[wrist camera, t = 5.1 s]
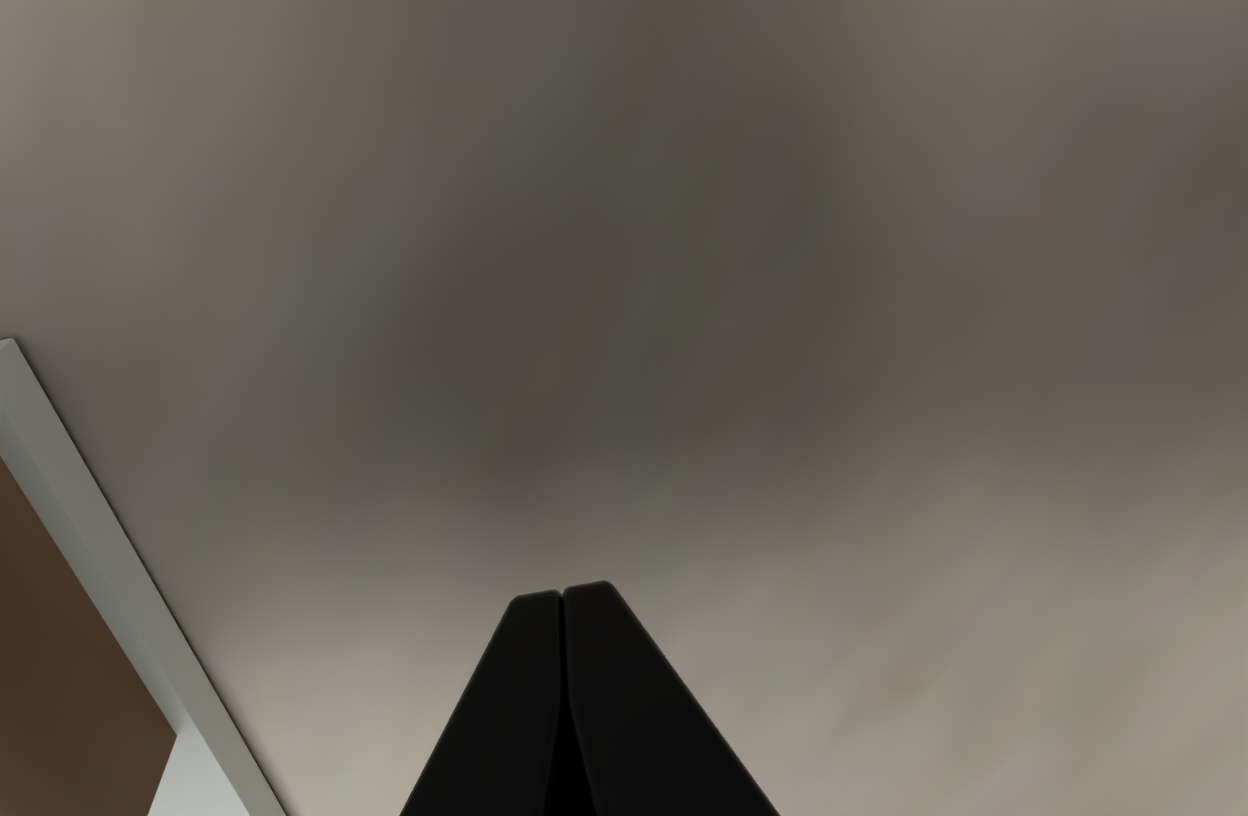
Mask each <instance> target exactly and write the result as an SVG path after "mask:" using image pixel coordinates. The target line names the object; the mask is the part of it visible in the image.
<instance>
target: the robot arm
mask: <svg viewBox="0 0 1248 816" xmlns="http://www.w3.org/2000/svg"><path fill="white" fill-rule="evenodd" d="M399 816H780V814H779V813H778V812H777V810H776V809H775V808H774V806H773V805H772V803H771V802H770V801H769V799H768V798H767V797H766V795H765V794H764V792H763V791H762V790H761V788H760V787H759V785H758V784H757V783H756V781H755V780H754V779H753V777H752V776H751V774H750V773H749V772H748V770H747V769H746V767H745V766H744V765H743V763H742V762H741V761H740V759H739V758H738V756H737V755H736V754H735V752H734V751H733V749H732V748H731V747H730V745H729V744H728V743H727V741H726V740H725V738H724V737H723V736H722V734H721V733H720V732H719V730H718V729H717V727H716V726H715V725H714V723H713V722H712V720H711V719H710V718H709V716H708V715H707V714H706V712H705V711H704V709H703V708H702V707H701V705H700V704H699V702H698V701H697V700H696V698H695V697H694V696H693V694H692V693H691V691H690V690H689V689H688V687H687V686H686V685H685V683H684V682H683V680H682V679H681V678H680V676H679V675H678V673H677V672H676V671H675V669H674V668H673V667H672V665H671V664H670V662H669V661H668V660H667V658H666V657H665V655H664V654H663V653H662V651H661V650H660V649H659V647H658V646H657V644H656V643H655V642H654V640H653V639H652V637H651V636H650V635H649V633H648V632H647V631H646V629H645V628H644V626H643V625H642V624H641V622H640V621H639V620H638V618H637V617H636V615H635V614H634V613H633V611H632V610H631V608H630V607H629V606H628V604H627V603H626V602H625V600H624V599H623V597H622V596H621V595H620V593H619V592H618V590H617V589H616V588H615V586H614V585H613V584H611V583H610V582H608V581H597V582H592V583H586V584H580V585H575V586H570V587H567V588H566V589H565V590H564V593H563V596H562V594H561V593H560V592H559V591H557V590H547V591H541V592H536V593H530V594H525V595H519V596H517V597H515V598H514V599H513V600H512V601H511V602H510V603H509V605H508V607H507V609H506V611H505V613H504V615H503V617H502V619H501V621H500V622H499V624H498V626H497V628H496V630H495V632H494V634H493V636H492V638H491V640H490V642H489V644H488V646H487V648H486V649H485V651H484V653H483V655H482V657H481V659H480V661H479V663H478V665H477V667H476V669H475V671H474V673H473V675H472V676H471V678H470V680H469V682H468V684H467V686H466V688H465V690H464V692H463V694H462V696H461V698H460V700H459V702H458V703H457V705H456V707H455V709H454V711H453V713H452V715H451V717H450V719H449V721H448V723H447V725H446V727H445V729H444V730H443V732H442V734H441V736H440V738H439V740H438V742H437V744H436V746H435V748H434V750H433V752H432V754H431V756H430V757H429V759H428V761H427V763H426V765H425V767H424V769H423V771H422V773H421V775H420V777H419V779H418V781H417V783H416V784H415V786H414V788H413V790H412V792H411V794H410V796H409V798H408V800H407V802H406V804H405V806H404V808H403V810H402V811H401V813H400V815H399Z"/></svg>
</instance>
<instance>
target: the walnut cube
mask: <svg viewBox="0 0 1248 816" xmlns="http://www.w3.org/2000/svg"><path fill="white" fill-rule="evenodd" d="M176 738H177V735H176V733H175V732H174V730H173V728H172V727H171V725H170V724H169V722H168V721H167V719H166V717H165V716H164V714H163V713H162V711H161V709H160V708H159V706H158V705H157V703H156V702H155V700H154V698H153V697H152V695H151V694H150V692H149V690H148V689H147V687H146V686H145V684H144V683H143V681H142V679H141V678H140V676H139V675H138V673H137V671H136V670H135V668H134V667H133V665H132V664H131V662H130V660H129V659H128V657H127V656H126V654H125V652H124V651H123V649H122V648H121V646H120V645H119V643H118V641H117V640H116V638H115V637H114V635H113V633H112V632H111V630H110V629H109V627H108V626H107V624H106V622H105V621H104V619H103V618H102V616H101V614H100V613H99V611H98V610H97V608H96V607H95V605H94V603H93V602H92V600H91V599H90V597H89V595H88V594H87V592H86V591H85V589H84V588H83V586H82V584H81V583H80V581H79V580H78V578H77V576H76V575H75V573H74V572H73V570H72V569H71V567H70V565H69V564H68V562H67V561H66V559H65V557H64V556H63V554H62V553H61V551H60V550H59V548H58V546H57V545H56V543H55V542H54V540H53V538H52V537H51V535H50V534H49V532H48V531H47V529H46V527H45V526H44V524H43V523H42V521H41V519H40V518H39V516H38V515H37V513H36V512H35V510H34V508H33V507H32V505H31V504H30V502H29V500H28V499H27V497H26V496H25V494H24V493H23V491H22V489H21V488H20V486H19V485H18V483H17V481H16V480H15V478H14V477H13V475H12V474H11V472H10V470H9V469H8V467H7V466H6V464H5V462H4V461H3V459H2V458H1V456H0V816H148V813H149V811H150V808H151V805H152V803H153V800H154V797H155V795H156V792H157V789H158V786H159V784H160V781H161V778H162V776H163V773H164V770H165V768H166V765H167V762H168V760H169V757H170V754H171V751H172V749H173V746H174V743H175V741H176Z"/></svg>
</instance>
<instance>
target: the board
mask: <svg viewBox="0 0 1248 816" xmlns="http://www.w3.org/2000/svg"><path fill="white" fill-rule="evenodd" d="M0 456H1V458H2V459H3V461H4V462H5V464H6V466H7V467H8V469H9V470H10V472H11V474H12V475H13V477H14V478H15V480H16V481H17V483H18V485H19V486H20V488H21V489H22V491H23V493H24V494H25V496H26V497H27V499H28V500H29V502H30V504H31V505H32V507H33V508H34V510H35V512H36V513H37V515H38V516H39V518H40V519H41V521H42V523H43V524H44V526H45V527H46V529H47V531H48V532H49V534H50V535H51V537H52V538H53V540H54V542H55V543H56V545H57V546H58V548H59V550H60V551H61V553H62V554H63V556H64V557H65V559H66V561H67V562H68V564H69V565H70V567H71V569H72V570H73V572H74V573H75V575H76V576H77V578H78V580H79V581H80V583H81V584H82V586H83V588H84V589H85V591H86V592H87V594H88V595H89V597H90V599H91V600H92V602H93V603H94V605H95V607H96V608H97V610H98V611H99V613H100V614H101V616H102V618H103V619H104V621H105V622H106V624H107V626H108V627H109V629H110V630H111V632H112V633H113V635H114V637H115V638H116V640H117V641H118V643H119V645H120V646H121V648H122V649H123V651H124V652H125V654H126V656H127V657H128V659H129V660H130V662H131V664H132V665H133V667H134V668H135V670H136V671H137V673H138V675H139V676H140V678H141V679H142V681H143V683H144V684H145V686H146V687H147V689H148V690H149V692H150V694H151V695H152V697H153V698H154V700H155V702H156V703H157V705H158V706H159V708H160V709H161V711H162V713H163V714H164V716H165V717H166V719H167V721H168V722H169V724H170V725H171V727H172V728H173V730H174V732H175V733H176V735H177V738H176V741H175V743H174V746H173V749H172V751H171V754H170V757H169V760H168V762H167V765H166V768H165V770H164V773H163V776H162V778H161V781H160V784H159V786H158V789H157V792H156V795H155V797H154V800H153V803H152V805H151V808H150V811H149V813H148V816H286V815H285V813H284V811H283V809H282V808H281V806H280V804H279V802H278V801H277V799H276V797H275V795H274V794H273V792H272V790H271V788H270V787H269V785H268V783H267V781H266V780H265V778H264V776H263V774H262V773H261V771H260V769H259V767H258V766H257V764H256V762H255V760H254V759H253V757H252V755H251V753H250V752H249V750H248V748H247V746H246V745H245V743H244V741H243V739H242V738H241V736H240V734H239V732H238V731H237V729H236V727H235V725H234V724H233V722H232V720H231V718H230V717H229V715H228V713H227V711H226V710H225V708H224V706H223V704H222V703H221V701H220V699H219V697H218V696H217V694H216V692H215V690H214V689H213V687H212V685H211V683H210V682H209V680H208V678H207V676H206V675H205V673H204V671H203V669H202V668H201V666H200V664H199V662H198V661H197V659H196V657H195V655H194V654H193V652H192V650H191V648H190V647H189V645H188V643H187V641H186V640H185V638H184V636H183V634H182V633H181V631H180V629H179V627H178V626H177V624H176V622H175V620H174V619H173V617H172V615H171V613H170V612H169V610H168V608H167V606H166V605H165V603H164V601H163V599H162V598H161V596H160V594H159V592H158V591H157V589H156V587H155V585H154V584H153V582H152V580H151V578H150V577H149V575H148V573H147V571H146V570H145V568H144V566H143V564H142V563H141V561H140V559H139V557H138V556H137V554H136V552H135V550H134V549H133V547H132V545H131V543H130V542H129V540H128V538H127V536H126V535H125V533H124V531H123V529H122V528H121V526H120V524H119V522H118V521H117V519H116V517H115V515H114V514H113V512H112V510H111V508H110V507H109V505H108V503H107V501H106V500H105V498H104V496H103V494H102V493H101V491H100V489H99V487H98V486H97V484H96V482H95V480H94V479H93V477H92V475H91V473H90V472H89V470H88V468H87V466H86V465H85V463H84V461H83V459H82V458H81V456H80V454H79V452H78V451H77V449H76V447H75V445H74V444H73V442H72V440H71V438H70V437H69V435H68V433H67V431H66V430H65V428H64V426H63V424H62V423H61V421H60V419H59V417H58V416H57V414H56V412H55V410H54V409H53V407H52V405H51V403H50V402H49V400H48V398H47V396H46V395H45V393H44V391H43V389H42V388H41V386H40V384H39V382H38V381H37V379H36V377H35V375H34V374H33V372H32V370H31V368H30V367H29V365H28V363H27V361H26V360H25V358H24V356H23V354H22V353H21V351H20V349H19V347H18V346H17V344H16V342H15V340H14V339H13V338H9V339H3V340H0Z"/></svg>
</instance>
